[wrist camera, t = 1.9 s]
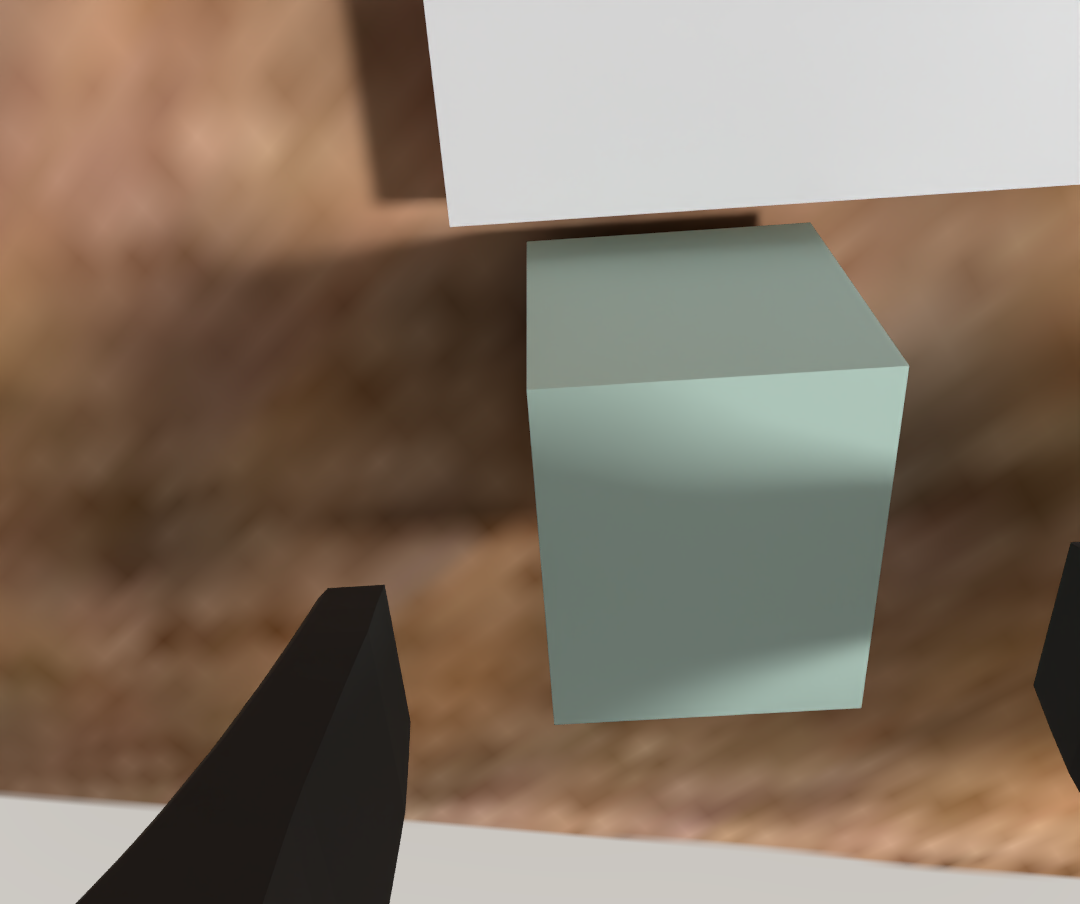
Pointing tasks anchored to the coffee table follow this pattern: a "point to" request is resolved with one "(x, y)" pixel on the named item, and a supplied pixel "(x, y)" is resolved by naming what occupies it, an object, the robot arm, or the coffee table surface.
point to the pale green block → (707, 471)
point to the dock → (746, 102)
